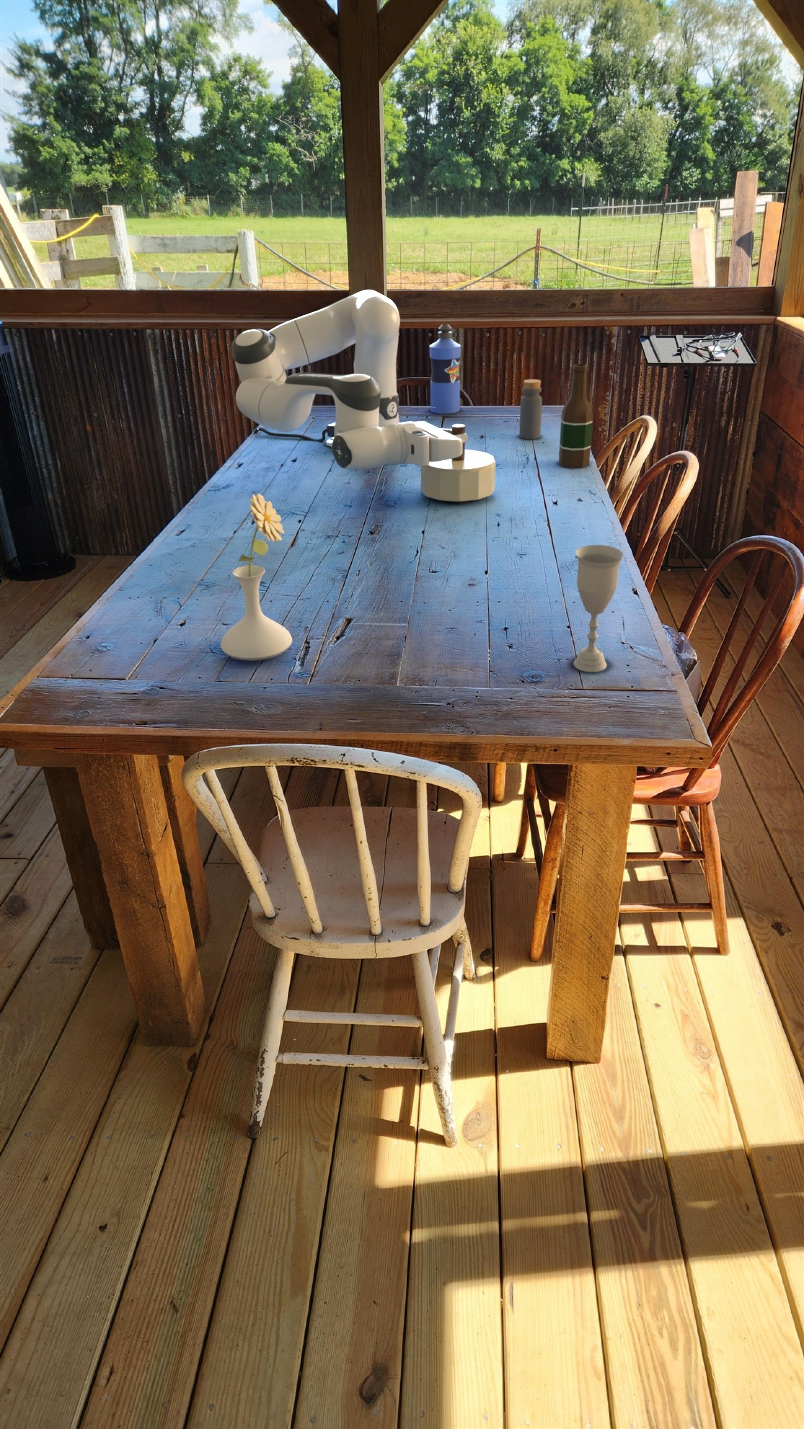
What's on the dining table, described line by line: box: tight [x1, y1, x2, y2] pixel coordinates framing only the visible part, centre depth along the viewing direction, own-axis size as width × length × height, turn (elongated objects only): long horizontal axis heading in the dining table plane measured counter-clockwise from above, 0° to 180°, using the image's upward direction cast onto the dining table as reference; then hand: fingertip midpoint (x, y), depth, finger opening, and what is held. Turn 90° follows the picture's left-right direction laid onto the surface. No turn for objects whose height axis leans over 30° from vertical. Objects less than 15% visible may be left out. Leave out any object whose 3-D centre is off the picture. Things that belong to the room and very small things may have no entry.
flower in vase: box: [220, 493, 293, 662], centre depth 149 cm, size 13×11×25 cm
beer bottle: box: [558, 363, 594, 469], centre depth 237 cm, size 8×8×24 cm
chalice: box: [573, 544, 625, 673], centre depth 143 cm, size 7×7×18 cm
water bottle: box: [429, 323, 462, 415], centre depth 291 cm, size 9×9×25 cm
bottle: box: [518, 378, 543, 440], centre depth 263 cm, size 6×6×15 cm
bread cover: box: [420, 423, 497, 502], centre depth 218 cm, size 17×17×15 cm
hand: (461, 434), depth 216 cm, fingers closed on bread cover, 3 cm apart
